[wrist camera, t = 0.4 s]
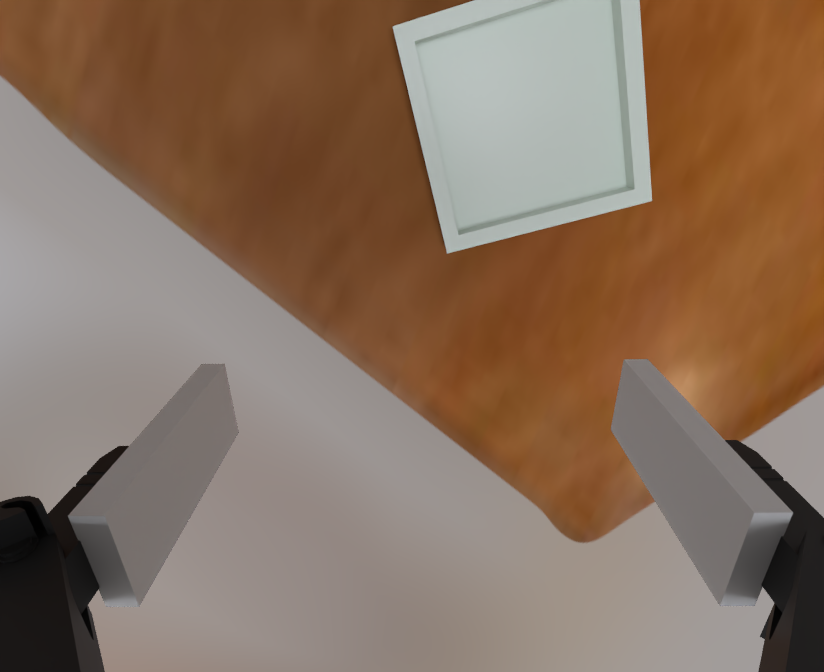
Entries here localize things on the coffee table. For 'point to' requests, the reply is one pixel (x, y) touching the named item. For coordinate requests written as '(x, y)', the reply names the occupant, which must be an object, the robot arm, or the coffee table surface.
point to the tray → (528, 113)
